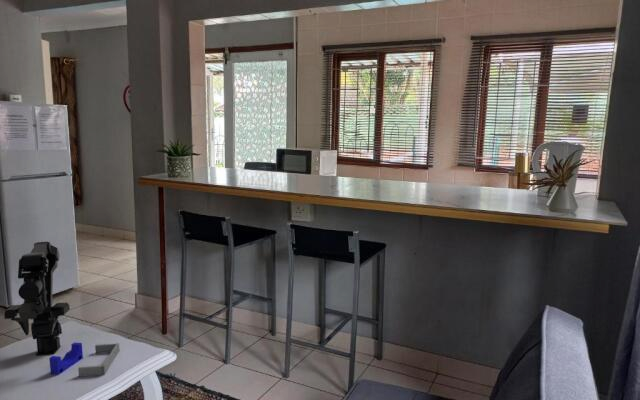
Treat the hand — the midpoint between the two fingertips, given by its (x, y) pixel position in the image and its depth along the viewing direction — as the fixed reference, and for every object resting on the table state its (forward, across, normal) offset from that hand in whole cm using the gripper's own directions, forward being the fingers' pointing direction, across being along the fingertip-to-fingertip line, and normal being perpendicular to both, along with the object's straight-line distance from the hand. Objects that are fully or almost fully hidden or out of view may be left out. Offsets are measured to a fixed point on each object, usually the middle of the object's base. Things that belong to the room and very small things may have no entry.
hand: (39, 334), depth 158 cm
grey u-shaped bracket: (+12, +19, 0) cm, 22 cm away
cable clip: (+12, +8, 0) cm, 15 cm away
